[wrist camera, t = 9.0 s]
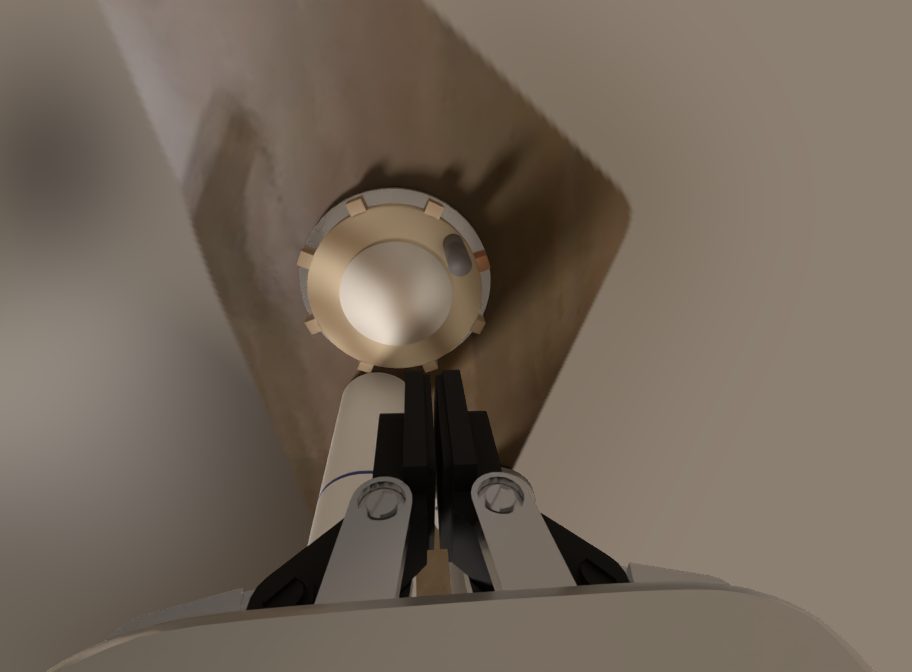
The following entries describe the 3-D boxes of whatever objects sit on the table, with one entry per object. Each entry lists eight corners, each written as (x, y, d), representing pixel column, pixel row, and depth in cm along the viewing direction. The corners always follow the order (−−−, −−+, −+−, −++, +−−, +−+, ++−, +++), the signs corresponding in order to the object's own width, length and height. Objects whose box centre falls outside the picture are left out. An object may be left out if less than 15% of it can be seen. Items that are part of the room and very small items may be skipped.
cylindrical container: (381, 359, 40) (347, 667, 18) (427, 404, 43) (446, 713, 21) (326, 398, 41) (233, 725, 19) (375, 439, 44) (341, 760, 23)
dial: (398, 391, 40) (397, 438, 34) (265, 287, 34) (236, 323, 28) (520, 290, 36) (541, 324, 30) (395, 151, 30) (391, 161, 24)
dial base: (510, 326, 39) (512, 331, 38) (355, 382, 41) (354, 388, 40) (452, 154, 32) (453, 155, 31) (263, 231, 33) (259, 234, 32)
